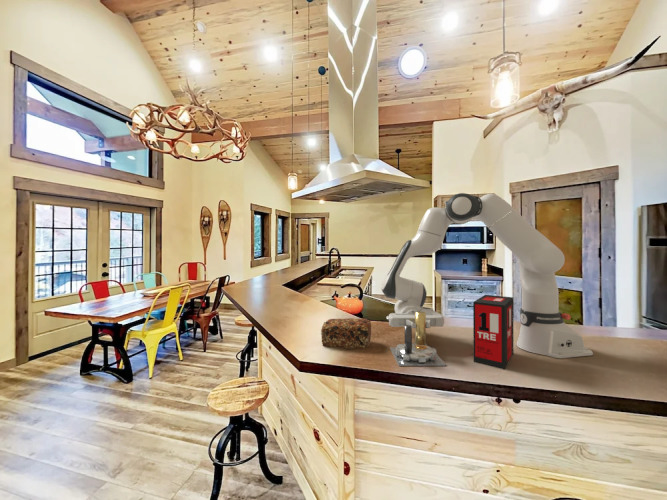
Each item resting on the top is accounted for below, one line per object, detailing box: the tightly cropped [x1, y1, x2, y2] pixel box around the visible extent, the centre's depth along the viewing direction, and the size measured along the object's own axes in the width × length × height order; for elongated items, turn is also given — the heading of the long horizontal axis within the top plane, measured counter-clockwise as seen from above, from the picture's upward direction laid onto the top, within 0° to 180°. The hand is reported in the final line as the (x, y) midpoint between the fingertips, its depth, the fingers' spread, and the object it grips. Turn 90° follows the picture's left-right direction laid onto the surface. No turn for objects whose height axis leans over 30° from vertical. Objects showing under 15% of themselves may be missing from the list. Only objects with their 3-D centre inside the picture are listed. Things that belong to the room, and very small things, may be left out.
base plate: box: [389, 346, 447, 367], centre depth 98 cm, size 15×15×1 cm
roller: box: [414, 312, 427, 345], centre depth 100 cm, size 4×4×11 cm
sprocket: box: [396, 325, 437, 362], centre depth 98 cm, size 14×14×11 cm
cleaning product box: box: [472, 294, 514, 370], centre depth 96 cm, size 16×9×20 cm, turn 139°
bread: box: [320, 317, 372, 350], centre depth 112 cm, size 19×11×10 cm, turn 75°
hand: (421, 325), depth 99 cm, fingers closed on roller, 4 cm apart
